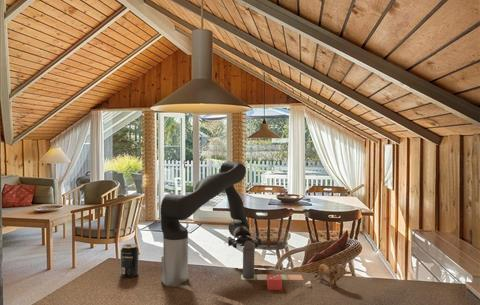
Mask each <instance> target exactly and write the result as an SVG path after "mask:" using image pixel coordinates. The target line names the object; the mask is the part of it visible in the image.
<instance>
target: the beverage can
mask: <svg viewBox="0 0 480 305" xmlns="http://www.w3.org/2000/svg"><path fill="white" fill-rule="evenodd" d="M138 274H139V248H138V245H137V244H136V243H126V244H123V245H122V248H120V276H121V277H123V278H134V277H135V276H137V275H138Z"/></svg>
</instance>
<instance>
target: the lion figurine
mask: <svg viewBox="0 0 480 305" xmlns="http://www.w3.org/2000/svg"><path fill="white" fill-rule="evenodd" d="M346 274H347V269H345V267H344V265H343V264H341V263H337V264H334V265H331V266H330V267H329V266H328V265H327V264H325V263H321V264H320V265H319V268H318V273H317V275H315V276H314V278H318V283H320V284H321V283H323V280H324V276H325V277H326V278H328V279H329V289H333V290H334V287H336V288H338V287H339V286H338V284H337V281H340V279H342V278H343V277H344V276H346Z"/></svg>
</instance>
